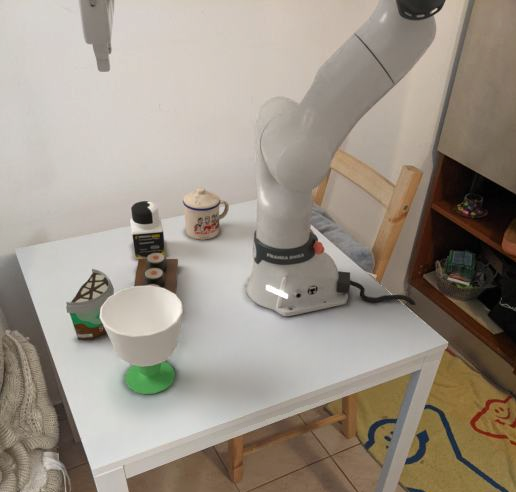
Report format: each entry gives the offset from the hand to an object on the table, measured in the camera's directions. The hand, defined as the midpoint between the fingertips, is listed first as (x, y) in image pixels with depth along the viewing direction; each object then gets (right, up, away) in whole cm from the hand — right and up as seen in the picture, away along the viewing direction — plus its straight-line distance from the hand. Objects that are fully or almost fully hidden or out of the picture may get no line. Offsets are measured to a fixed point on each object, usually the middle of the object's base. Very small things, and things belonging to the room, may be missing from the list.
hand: (105, 61), depth 87 cm
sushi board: (+2, -33, +35) cm, 48 cm away
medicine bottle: (-2, -22, +47) cm, 52 cm away
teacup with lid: (+11, -15, +55) cm, 58 cm away
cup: (+4, -51, +15) cm, 53 cm away
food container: (-7, -41, +25) cm, 49 cm away
